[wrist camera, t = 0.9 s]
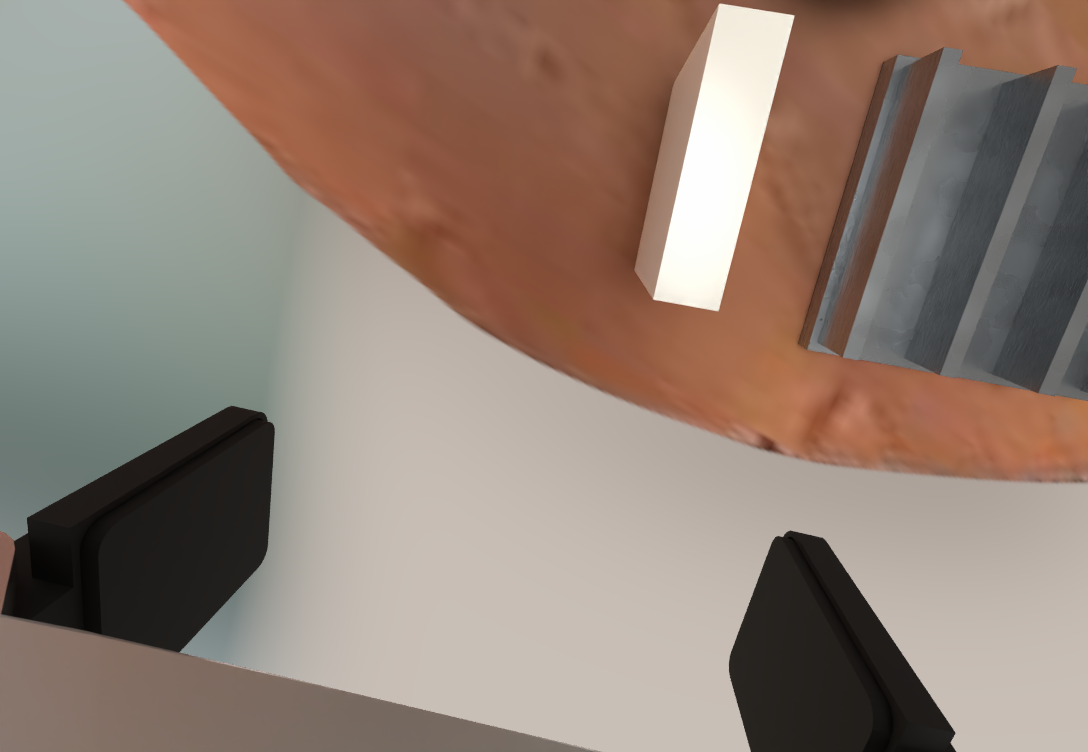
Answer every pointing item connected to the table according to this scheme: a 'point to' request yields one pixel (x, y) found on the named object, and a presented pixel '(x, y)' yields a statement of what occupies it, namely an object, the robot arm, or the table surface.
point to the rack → (964, 229)
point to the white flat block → (710, 155)
